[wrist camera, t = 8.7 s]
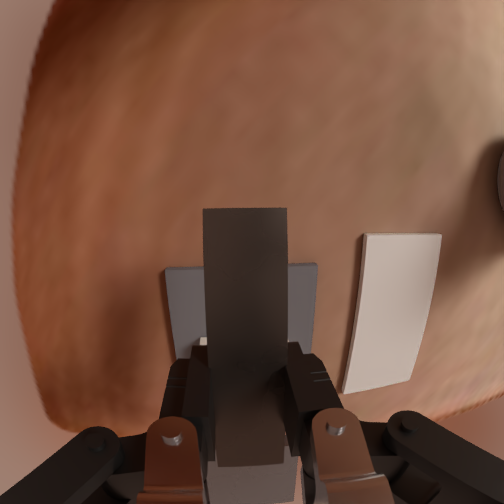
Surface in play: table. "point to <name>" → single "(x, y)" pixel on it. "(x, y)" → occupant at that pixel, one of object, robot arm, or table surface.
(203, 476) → the robot arm
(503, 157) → the coffee pot
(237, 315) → the grey post on base
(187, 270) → the mat
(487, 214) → the table surface
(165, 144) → the table surface
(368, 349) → the rest pad
